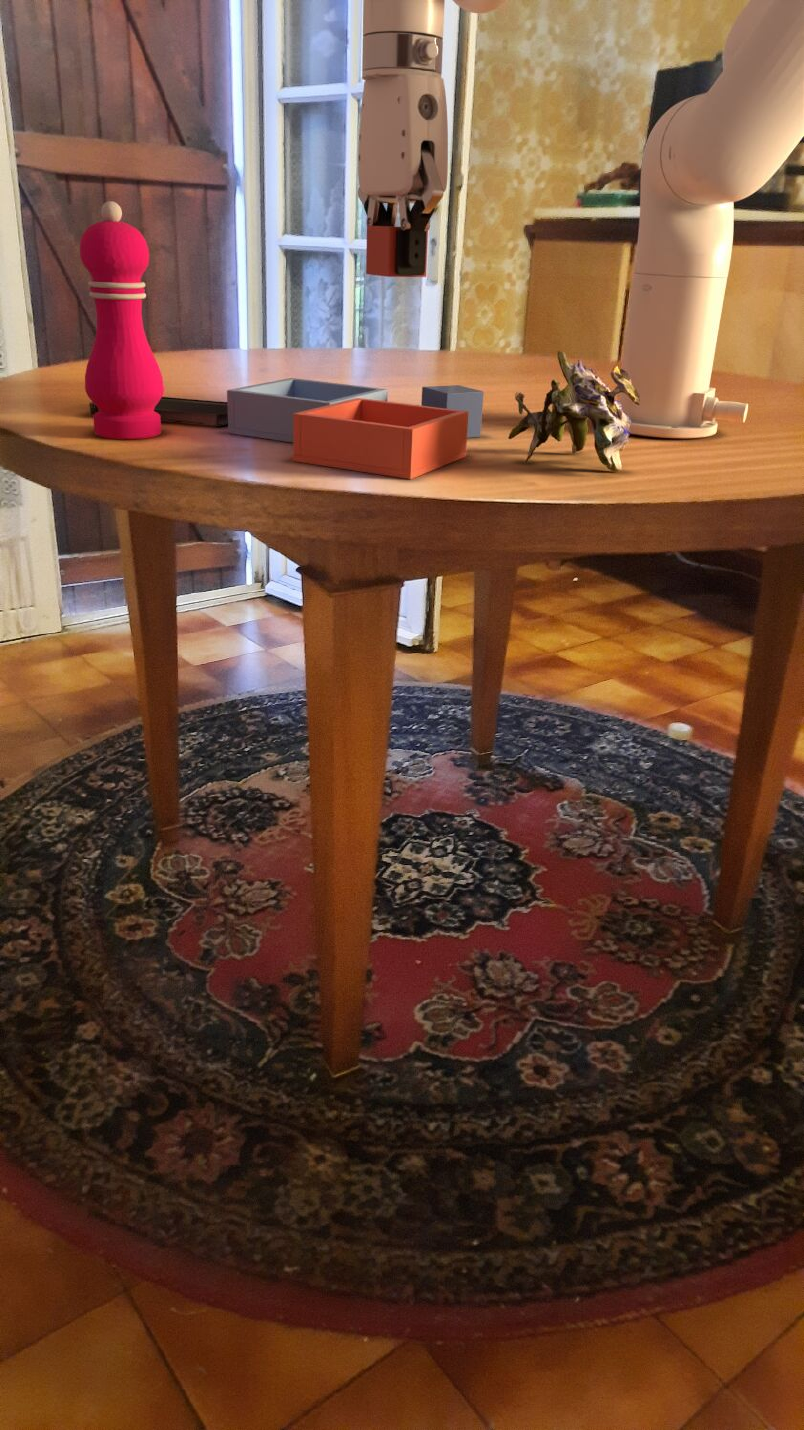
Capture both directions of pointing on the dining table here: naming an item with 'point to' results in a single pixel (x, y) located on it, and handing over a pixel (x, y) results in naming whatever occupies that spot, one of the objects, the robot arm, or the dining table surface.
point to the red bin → (380, 437)
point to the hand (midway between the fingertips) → (396, 271)
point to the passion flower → (582, 412)
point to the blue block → (457, 403)
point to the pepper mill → (120, 331)
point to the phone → (188, 411)
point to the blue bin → (286, 404)
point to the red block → (384, 251)
